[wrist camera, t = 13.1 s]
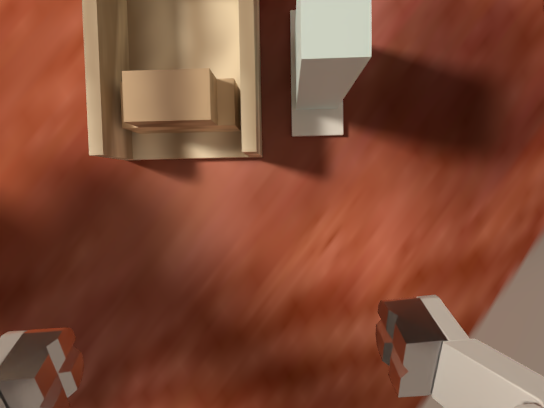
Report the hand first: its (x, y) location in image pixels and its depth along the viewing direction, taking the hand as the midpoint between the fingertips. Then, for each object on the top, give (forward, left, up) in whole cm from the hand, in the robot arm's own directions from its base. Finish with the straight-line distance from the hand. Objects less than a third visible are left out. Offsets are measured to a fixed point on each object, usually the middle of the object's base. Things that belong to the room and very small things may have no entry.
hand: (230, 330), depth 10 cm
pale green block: (+4, +15, -27) cm, 31 cm away
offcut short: (-8, +11, -23) cm, 27 cm away
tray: (-8, +16, -28) cm, 33 cm away
